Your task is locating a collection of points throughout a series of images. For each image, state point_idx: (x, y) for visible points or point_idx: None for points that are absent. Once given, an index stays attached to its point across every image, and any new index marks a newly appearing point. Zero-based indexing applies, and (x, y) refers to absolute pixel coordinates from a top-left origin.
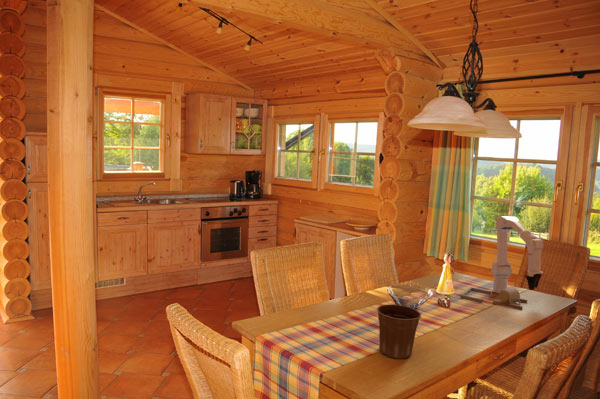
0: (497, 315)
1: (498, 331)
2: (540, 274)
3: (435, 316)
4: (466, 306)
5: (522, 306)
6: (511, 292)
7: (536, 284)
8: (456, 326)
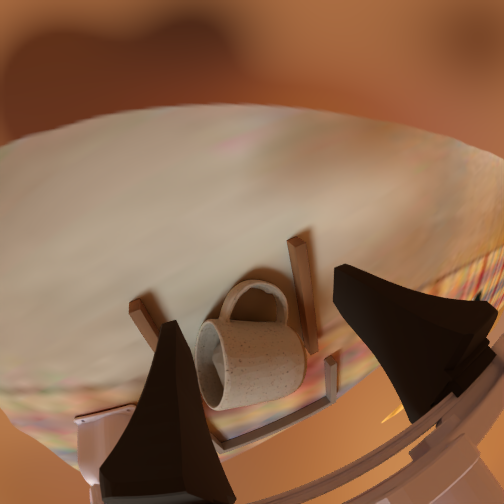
0: (420, 243)
1: (483, 176)
2: (190, 496)
3: (465, 295)
4: None
5: (297, 247)
6: (283, 364)
7: (181, 355)
8: (486, 242)
